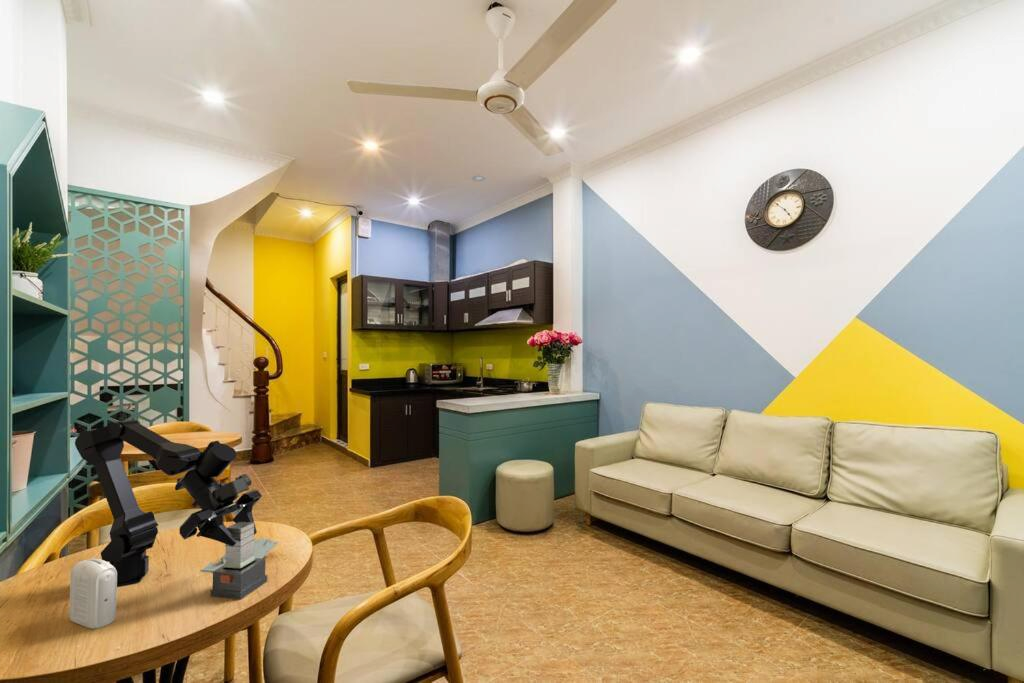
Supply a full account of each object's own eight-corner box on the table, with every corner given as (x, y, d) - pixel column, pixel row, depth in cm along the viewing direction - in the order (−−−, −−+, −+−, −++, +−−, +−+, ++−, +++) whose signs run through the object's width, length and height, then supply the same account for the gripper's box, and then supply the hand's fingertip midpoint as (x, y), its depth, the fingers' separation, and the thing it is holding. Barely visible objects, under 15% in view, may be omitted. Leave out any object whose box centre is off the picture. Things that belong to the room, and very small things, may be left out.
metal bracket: (240, 531, 123) (285, 534, 120) (245, 548, 125) (290, 552, 121) (195, 568, 110) (245, 573, 107) (201, 587, 111) (250, 593, 108)
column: (224, 567, 100) (224, 528, 101) (239, 559, 105) (239, 521, 105) (240, 569, 100) (240, 529, 100) (254, 560, 104) (255, 522, 104)
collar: (209, 597, 99) (209, 572, 99) (238, 579, 107) (238, 556, 107) (240, 599, 97) (240, 574, 97) (267, 581, 105) (267, 558, 105)
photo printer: (119, 619, 90) (121, 559, 91) (93, 632, 86) (95, 568, 87) (91, 610, 94) (92, 552, 95) (65, 621, 90) (66, 560, 91)
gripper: (191, 477, 95) (234, 531, 92) (255, 458, 113) (293, 502, 111) (160, 512, 96) (202, 566, 93) (229, 487, 114) (266, 532, 112)
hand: (245, 539), depth 102 cm, fingers open, 6 cm apart
